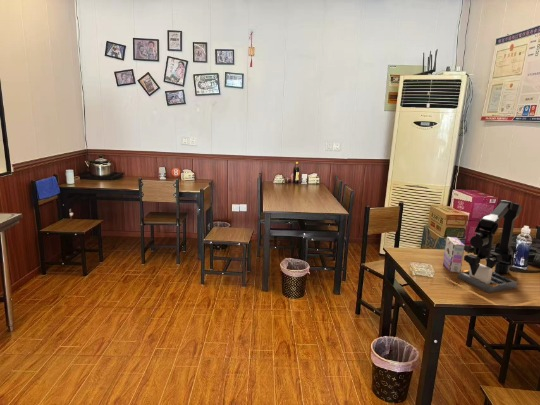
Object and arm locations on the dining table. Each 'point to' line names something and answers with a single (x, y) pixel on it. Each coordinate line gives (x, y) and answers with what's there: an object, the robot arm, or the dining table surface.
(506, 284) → the rack
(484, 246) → the robot arm
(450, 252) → the candy box
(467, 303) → the dining table surface
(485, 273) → the panel
